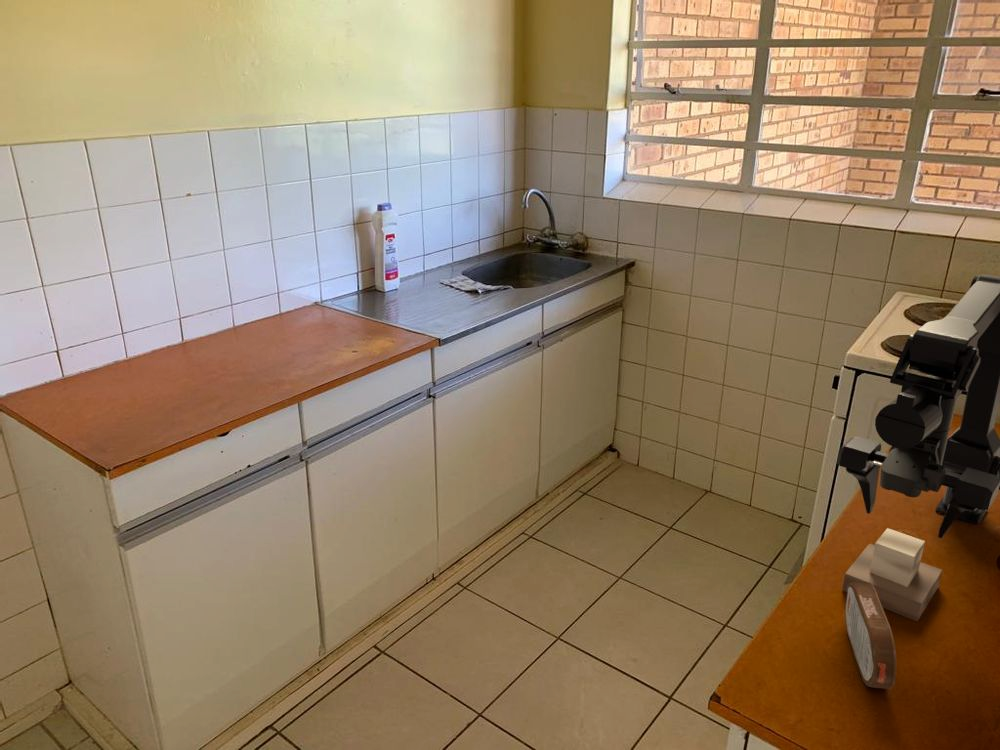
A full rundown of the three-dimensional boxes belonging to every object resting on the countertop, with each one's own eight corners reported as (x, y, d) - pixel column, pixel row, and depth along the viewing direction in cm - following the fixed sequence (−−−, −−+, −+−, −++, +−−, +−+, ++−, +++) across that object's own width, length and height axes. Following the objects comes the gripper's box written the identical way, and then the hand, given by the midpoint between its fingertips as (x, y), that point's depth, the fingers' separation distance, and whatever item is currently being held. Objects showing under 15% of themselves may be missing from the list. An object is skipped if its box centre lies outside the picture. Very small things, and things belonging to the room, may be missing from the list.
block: (881, 556, 111) (887, 528, 109) (918, 570, 108) (924, 541, 106) (869, 572, 108) (875, 542, 106) (907, 587, 104) (914, 556, 102)
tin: (892, 705, 89) (905, 648, 86) (863, 701, 89) (875, 645, 86) (862, 621, 102) (872, 569, 99) (837, 618, 103) (846, 567, 100)
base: (866, 559, 115) (869, 543, 114) (938, 587, 109) (942, 569, 108) (842, 590, 109) (845, 573, 107) (917, 621, 102) (921, 603, 101)
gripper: (830, 422, 99) (814, 523, 105) (992, 467, 88) (964, 578, 93) (860, 397, 107) (843, 493, 113) (1013, 435, 95) (985, 540, 101)
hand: (903, 524), depth 105 cm, fingers open, 9 cm apart
